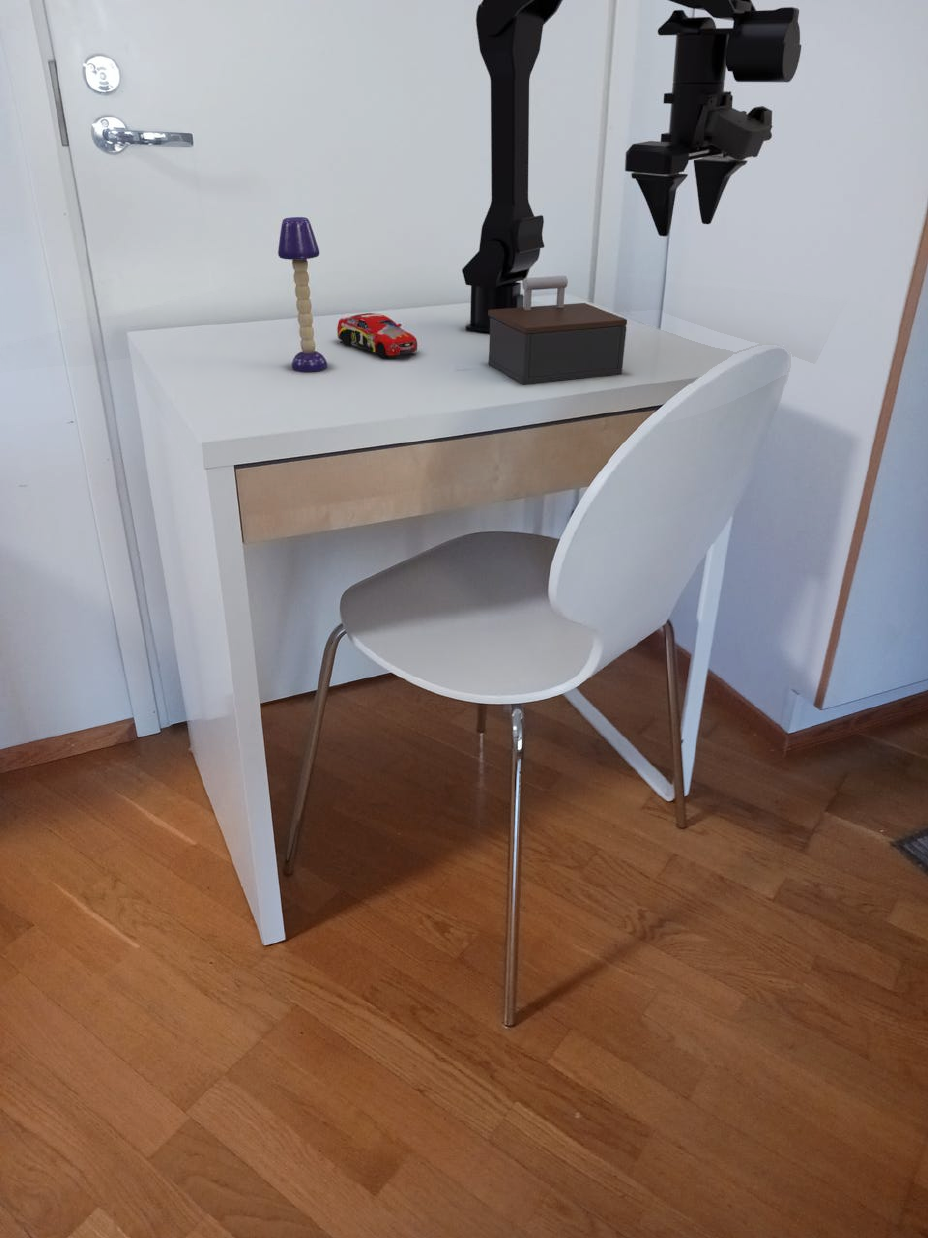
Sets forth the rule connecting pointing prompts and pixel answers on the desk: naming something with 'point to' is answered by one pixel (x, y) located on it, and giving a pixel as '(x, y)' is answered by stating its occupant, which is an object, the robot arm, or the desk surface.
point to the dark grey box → (556, 353)
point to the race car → (376, 334)
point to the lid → (554, 311)
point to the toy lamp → (302, 287)
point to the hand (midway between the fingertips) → (685, 229)
